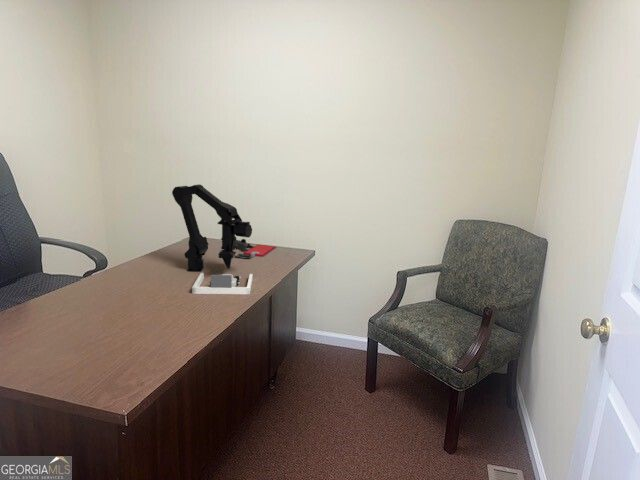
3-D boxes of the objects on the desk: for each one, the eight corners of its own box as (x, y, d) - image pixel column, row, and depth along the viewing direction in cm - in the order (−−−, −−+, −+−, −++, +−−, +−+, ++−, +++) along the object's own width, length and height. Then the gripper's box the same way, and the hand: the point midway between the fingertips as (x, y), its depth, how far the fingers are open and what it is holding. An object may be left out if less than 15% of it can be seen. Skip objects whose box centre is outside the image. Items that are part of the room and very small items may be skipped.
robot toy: (213, 282, 183) (207, 291, 168) (213, 272, 182) (207, 280, 167) (242, 283, 184) (238, 292, 169) (242, 273, 183) (238, 281, 169)
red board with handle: (230, 257, 220) (258, 261, 217) (231, 252, 219) (258, 255, 216) (251, 246, 249) (276, 249, 246) (252, 241, 248) (276, 244, 245)
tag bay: (192, 293, 166) (191, 275, 164) (200, 278, 184) (200, 261, 183) (249, 294, 168) (249, 276, 166) (252, 279, 187) (252, 262, 185)
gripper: (245, 240, 179) (244, 275, 182) (248, 231, 197) (248, 263, 200) (218, 239, 178) (218, 274, 181) (224, 230, 196) (224, 262, 199)
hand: (228, 268), depth 190 cm, fingers closed
